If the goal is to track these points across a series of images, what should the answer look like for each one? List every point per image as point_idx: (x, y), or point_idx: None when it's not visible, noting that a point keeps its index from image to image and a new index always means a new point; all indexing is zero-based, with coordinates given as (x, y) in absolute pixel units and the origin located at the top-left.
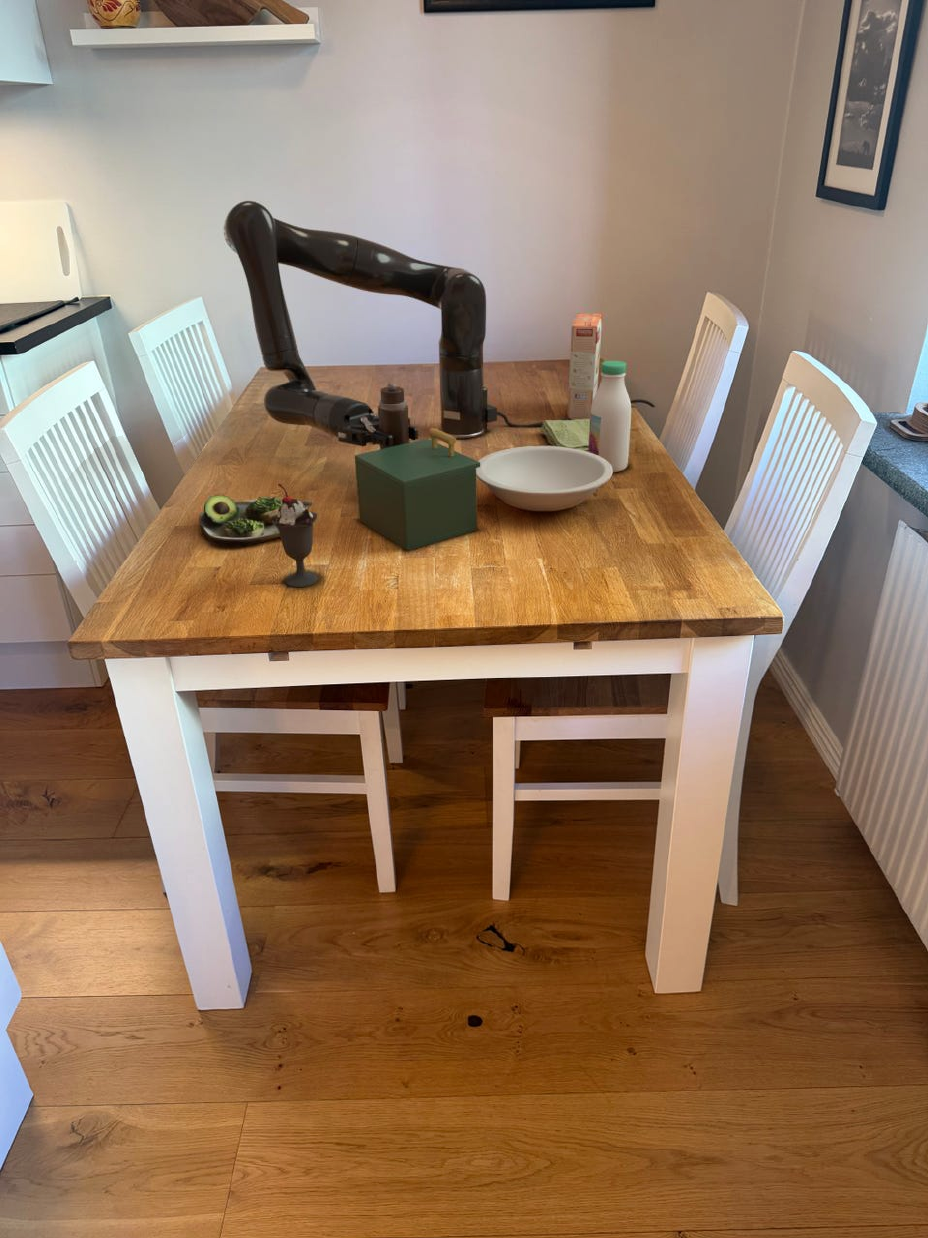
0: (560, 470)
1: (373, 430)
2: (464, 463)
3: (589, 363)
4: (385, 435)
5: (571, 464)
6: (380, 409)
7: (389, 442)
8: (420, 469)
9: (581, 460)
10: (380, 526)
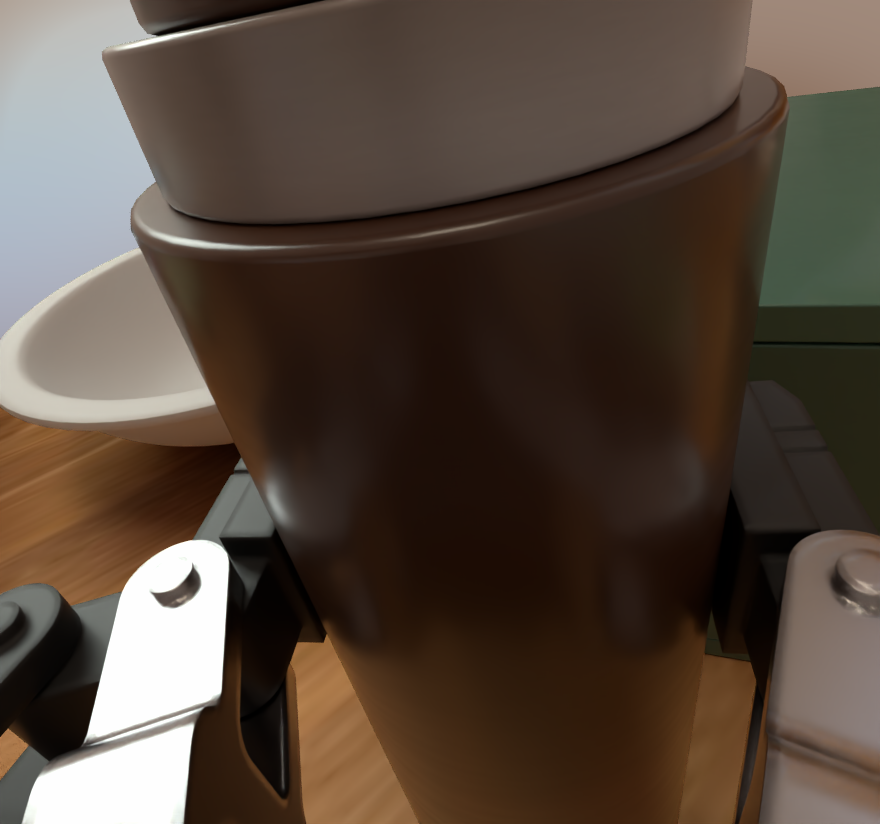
0: (103, 372)
1: (852, 564)
2: None
3: None
4: (746, 385)
5: (89, 340)
6: (777, 88)
7: None
8: (813, 117)
9: (88, 310)
10: None
